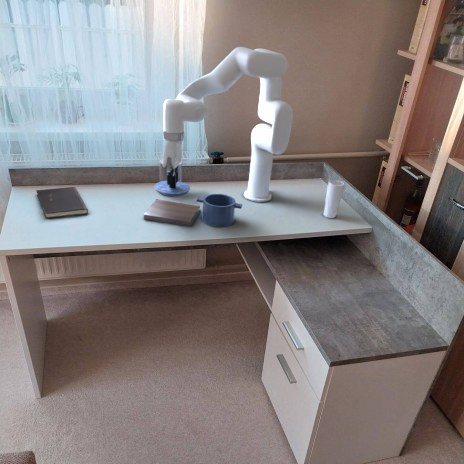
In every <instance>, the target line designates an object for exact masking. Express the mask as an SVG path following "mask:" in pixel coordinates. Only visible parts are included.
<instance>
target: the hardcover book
mask: <svg viewBox="0 0 464 464" xmlns="http://www.w3.org/2000/svg"><path fill="white" fill-rule="evenodd" d="M35 192H36V196H37V199H38V202H39V205H40V208H41V210H42V213H43V215H44V217H45V219H46V220H47V219H57V218H64V217H65V218H66V217H72V216H73V217H74V216H82V215H88V214H89V209H88V208H87V206H86V204H85V202H84V200H83V198H82V197H81V195H80V193H79V191H78V190H77V187H75V186H69V187H67V186H66V187H56V188H45V189H36V190H35Z"/></svg>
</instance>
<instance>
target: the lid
mask: <svg viewBox="0 0 464 464" xmlns="http://www.w3.org/2000/svg"><path fill="white" fill-rule="evenodd" d="M175 175H176V173H175ZM154 189H155V191H156V192H157V193H160V194H161V193H162V194H161V195H163V194H166V195H177V196H183V195H186V194H188V193H190V191H191V187H190V185H189V184H187V183H186V182H182V181H181V182H179V181H178V182H175V186H173V185H168V184H167V181H161V182H160V181H159V182H157V183H155V184H154ZM166 195H165V196H166Z"/></svg>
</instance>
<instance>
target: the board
mask: <svg viewBox="0 0 464 464" xmlns="http://www.w3.org/2000/svg"><path fill="white" fill-rule="evenodd" d="M200 212H201V206H200V205H196V204H190V203H183V202H177V201H171V200H163V199H160V198H159V199H158V198H156V199H155V200H154V202H152V204H151V205H150V206H149V207H148V209H146V211H145V212H144V213H143V220H148V221H154V222H160V223H167V224H172V225H178V226H185V227H191V226H192V224H193V223H194V222H195V221H196V220H195V219H196V218H197V216H198V215H199V213H200Z"/></svg>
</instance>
